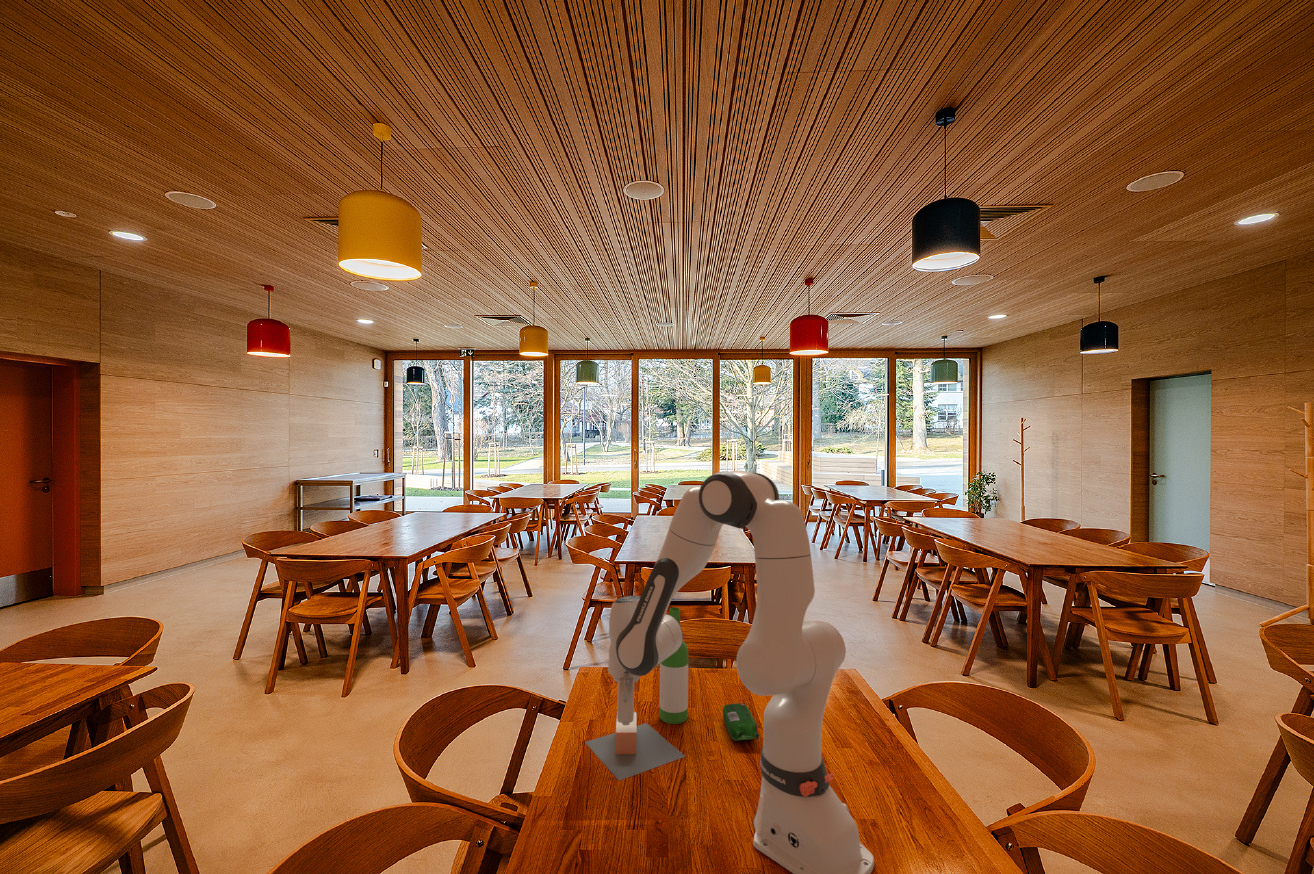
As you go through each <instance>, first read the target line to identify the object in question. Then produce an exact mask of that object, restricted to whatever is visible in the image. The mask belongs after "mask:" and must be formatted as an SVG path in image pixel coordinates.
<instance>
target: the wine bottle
mask: <svg viewBox="0 0 1314 874" xmlns="http://www.w3.org/2000/svg"><path fill="white" fill-rule="evenodd" d="M669 615H671V616H672V617H674V618H675V619H676V620H677V621H678V623H679V624H680V625H681V609H680V607H670V608H669ZM688 713H689V648H688V645H687V643H686V642H685V641H684V640H683V641H682V645H681V647H680V648H679V649H678V650H677V651H676V652H675V653H674V654H672V655H671V656H669V657H668V658H667V659H665V660H664V661H662V662H661V663H659V718H660V720H661V721H662V722H664V723H666V724H670V725H679V724H682V723H685V722H686V721H687V719H688V717H689V716H688V715H689V714H688Z"/></svg>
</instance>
